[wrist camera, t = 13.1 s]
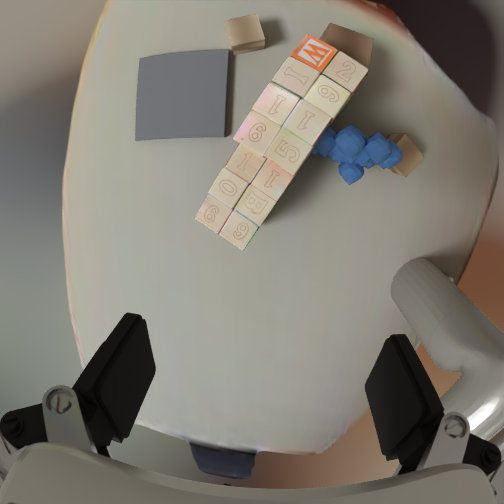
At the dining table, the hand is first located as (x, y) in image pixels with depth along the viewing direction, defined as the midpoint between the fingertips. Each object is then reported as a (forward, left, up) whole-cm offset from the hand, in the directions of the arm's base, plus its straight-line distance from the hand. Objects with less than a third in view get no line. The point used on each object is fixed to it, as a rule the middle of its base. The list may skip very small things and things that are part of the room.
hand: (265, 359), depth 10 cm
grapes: (-11, -6, -28) cm, 31 cm away
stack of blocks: (-2, -6, -28) cm, 29 cm away
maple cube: (+3, -22, -28) cm, 36 cm away
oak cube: (-18, -8, -28) cm, 34 cm away
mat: (+11, -14, -28) cm, 33 cm away
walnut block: (-8, -19, -28) cm, 35 cm away
